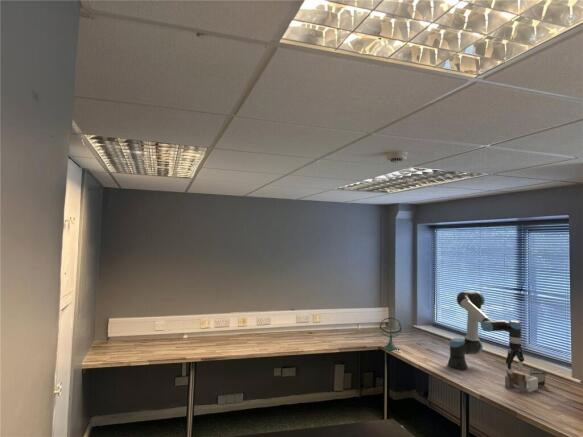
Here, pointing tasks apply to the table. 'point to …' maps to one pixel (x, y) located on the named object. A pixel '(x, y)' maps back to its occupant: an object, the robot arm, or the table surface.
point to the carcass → (530, 383)
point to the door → (516, 378)
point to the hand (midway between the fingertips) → (515, 371)
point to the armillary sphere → (390, 345)
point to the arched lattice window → (538, 376)
